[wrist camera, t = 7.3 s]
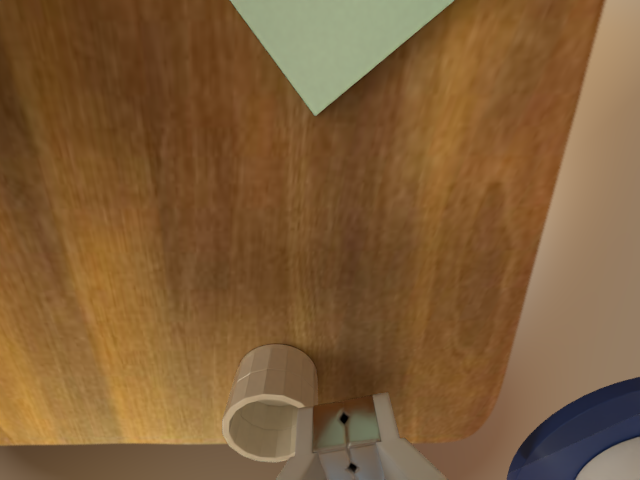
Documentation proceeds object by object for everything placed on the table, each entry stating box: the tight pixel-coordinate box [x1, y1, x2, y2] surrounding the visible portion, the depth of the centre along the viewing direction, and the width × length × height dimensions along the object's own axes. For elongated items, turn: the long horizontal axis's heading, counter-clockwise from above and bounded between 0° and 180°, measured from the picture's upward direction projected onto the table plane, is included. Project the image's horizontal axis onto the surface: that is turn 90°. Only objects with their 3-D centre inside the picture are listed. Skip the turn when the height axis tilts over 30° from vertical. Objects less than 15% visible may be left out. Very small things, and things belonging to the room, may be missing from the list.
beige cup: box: [222, 344, 318, 462], centre depth 25 cm, size 7×7×5 cm
